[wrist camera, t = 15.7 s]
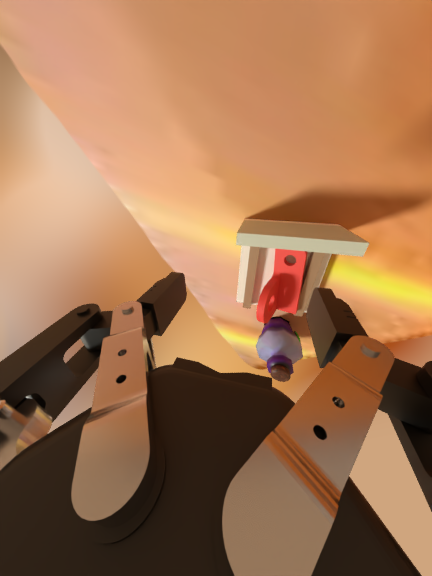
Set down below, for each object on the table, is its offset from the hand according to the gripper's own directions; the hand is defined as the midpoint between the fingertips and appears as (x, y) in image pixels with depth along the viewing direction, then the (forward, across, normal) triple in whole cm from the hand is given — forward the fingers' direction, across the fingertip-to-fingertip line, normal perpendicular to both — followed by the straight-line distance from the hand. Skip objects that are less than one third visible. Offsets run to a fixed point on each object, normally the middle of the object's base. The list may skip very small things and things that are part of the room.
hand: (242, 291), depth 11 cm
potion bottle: (+22, -6, +22) cm, 31 cm away
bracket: (+19, -6, +9) cm, 22 cm away
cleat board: (+22, -4, +8) cm, 23 cm away
